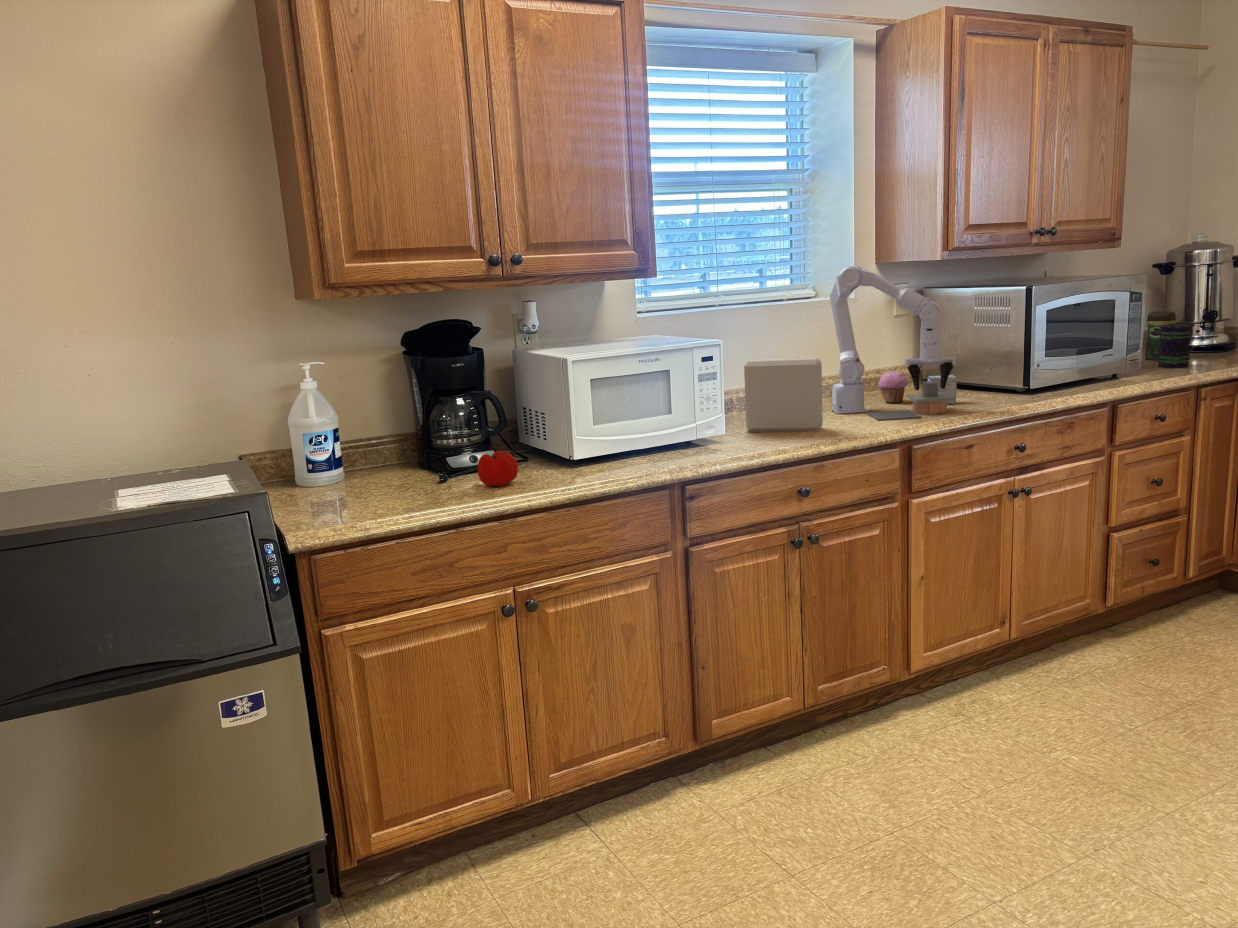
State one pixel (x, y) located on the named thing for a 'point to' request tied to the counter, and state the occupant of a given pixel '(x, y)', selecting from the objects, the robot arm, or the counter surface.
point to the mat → (893, 415)
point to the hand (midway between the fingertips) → (929, 389)
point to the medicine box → (949, 388)
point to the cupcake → (893, 386)
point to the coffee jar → (1157, 331)
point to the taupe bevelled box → (783, 395)
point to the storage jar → (1174, 346)
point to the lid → (930, 393)
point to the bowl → (930, 407)
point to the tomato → (497, 468)
